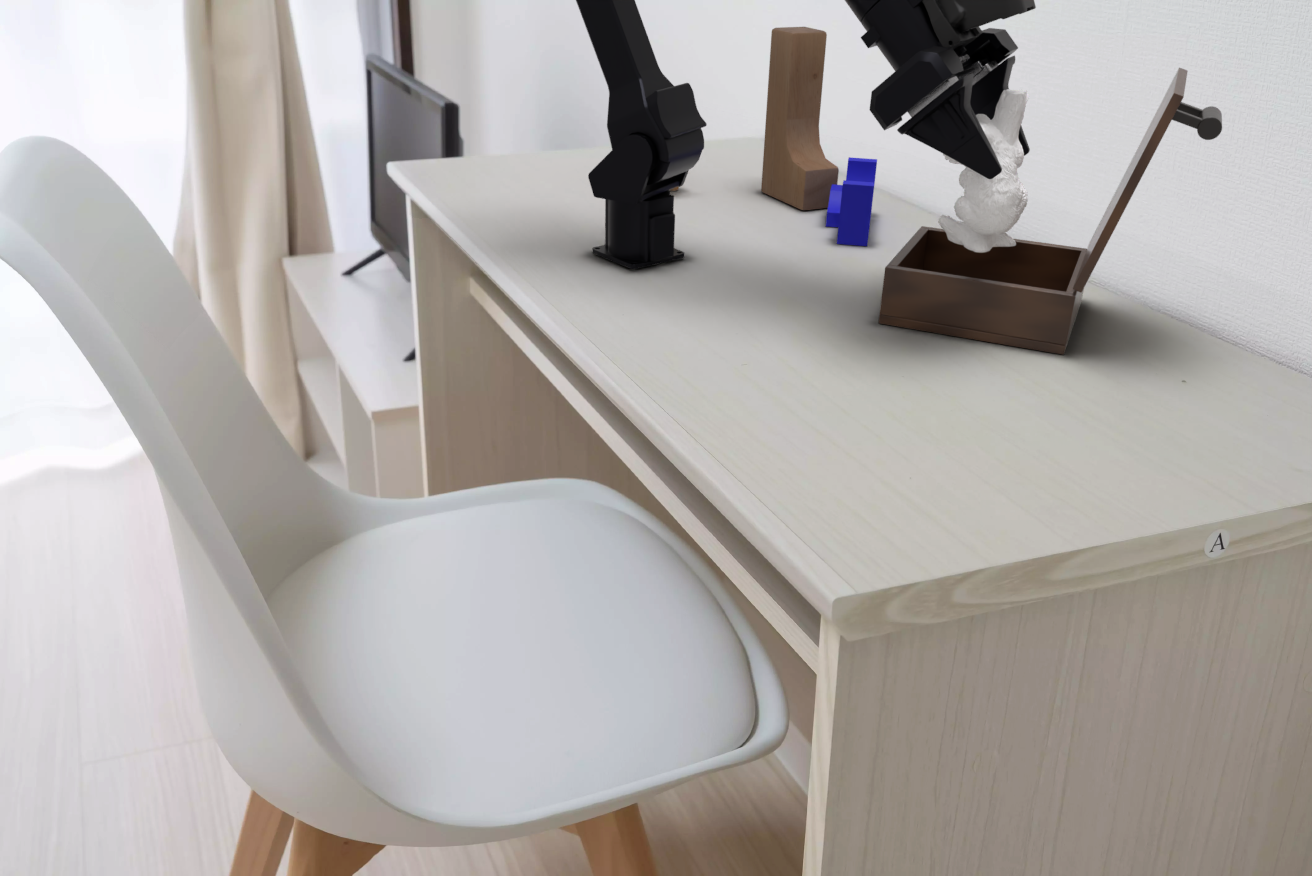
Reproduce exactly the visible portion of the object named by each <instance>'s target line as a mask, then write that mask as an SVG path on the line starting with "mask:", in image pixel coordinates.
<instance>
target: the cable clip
mask: <svg viewBox="0 0 1312 876" xmlns="http://www.w3.org/2000/svg"><path fill="white" fill-rule="evenodd" d="M877 165H878V159H877V158H864V157H848V159H847V165H846V166H847V168H846V176H845V180H843V181H842V184H837V185H834V184H832V186H831V190H830V197H829V204H828V208H827V210H826V217H825V218H826V220H825V227H826V228H827V227H829V228H837V237H836V244H837V245H848V246H859V247H868V242H869V234H870V225H871V219H872V218H871V217H872V210H873V202H874V201H873V200H874V191H875V183H876V175H877Z"/></svg>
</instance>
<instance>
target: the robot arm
mask: <svg viewBox="0 0 1312 876" xmlns="http://www.w3.org/2000/svg"><path fill="white" fill-rule="evenodd" d="M575 2H576V4H577V8H578V10H579V12H580V16H581V18H582V20H583V23H584V26H585V29H586V31H587V34H588V37H589V39H590V42H591V45H592V47H593V50H594V53H595V56H596V59H597V61H598V63H599V66H600V69H601V71H602V74H603V77H604V80H605V83H606V85H607V90H608V106H607V117H606V118H607V119H606V129H607V133H608V138H609V142H610V147H611V150H610V152H609V153H608V154H607V155H606V156H604V158H603V159H602V160H601V161H600V162H599V163H598V164H596V166H594V168H593V169H592V170H590V172H589V173H588V176H587V177H588V181H589V184H590V188H591V192H592V195H593V197H594V198H595V199H596V198H597V199H603V200H605V201H604V202H605V203H604V204H605V205H604V206H605V210H604V211H605V212H604V213H605V214H604V215H605V217H604V244H602V245H599V246H594V247H592V248H591V253H592V254H594V255H596V256H598V257H600V258H602V259H606V260H608V261H611V262H613V263H616V264H618V265H620V266H624V268H628V269H631V270H637V269H641V268H646V267H647V268H648V267H651V266H654V265H659V264H663V263H667V262H672V261H675V260H680V259H684V258H685V254H686V253H685V251H683V250H680V249H677V248H675V232H676V230H675V229H676V214H675V213H674V211H675V210H674V209H675V207H674V206H675V195H673V194H671V191H670V190H671V189H673V188H676V187H679V188H681V187H683V186H684V184H685V182H686V179H687V176H688V174H689V171H690V170H691V169H693V168H694V167H695V166H696V165H697V163H698V162H699V161H700V158H701V155H702V152H703V150H705V137H704V133H703V129H702V128H705V127H707V122H706V121H705V120H704V118H703V117H702V116H701V114H700V112H699V110H698V106H697V103H696V98H695V94H694V93H695V92H694V89H693V88H692V85H691V84H690V82H684V83H680V84H677V85H674V84H673V83H672V82H671V81H670V80H669V79H668V78H667V76H666V75H665V74H664V73H663V71H662V70H661V68H660V66H659V64H658V61H657V58H656V56H655V51H654V50H653V47H652V44H651V40H650V38H649V36H648V33H647V31H646V27H645V24H644V22H643V19H642V17H641V14H640V11H639V8H638V5H637V2H636V0H575ZM844 2H845V3H846V5H847V6H848V8H850V10H851V11H852V13H853V14H854V15H855V17H856V18H857V20H858V21H859V23H860V24H861V25H862V27H863V28H864V29H865V31H866V32H864V34H863V35H861V36H860V39H861V41H862V42H863V44H864V45H865V46H866V47H867V49H871V48H875V47H877V48H878V49H879V51H880V52H881V53H882V55H883V57H884V58H885V59H886V60H887V62H888V63H889V64H890V66H891V67H892V69H893V70H894V72H893V73H891V74H890V75H889V76H888V77H887V78H885V80H883V81H882V82H881V83H880V84H878V86H876V87H875V88H874V89H873V90H872V91H871V95H870V102H869V111H870V113H871V114H872V116H873V117H874V119H875V120H876V121H877V123H878V124H879V126H880V127H881V128H882V129H883V131H886V130H889V129H890V128H893V127H895V126H897V125H898V124H900V123H901V122H902V121H903V116H904V115H906V114H907V113H908V115H909V116H910V117H911V118H909V119H908V120H906V122H904V123H902V124H901V126H899V127H898V128H897V130H896V131H897V132H898V133H899V134H900V135H906V136H908V137H910V138H912V139H914V140H917V142H920V143H922V144H923V145H926V146H928V147H930V148H932V149H934V150H936V151H938V152H939V153H941V154H942V155H943V154H945V155H946V156H949V157H950V158H952V159H954V160H956V161H957V162H959V163H961V164H963V165H962V166H964V167H965V166H966V167H968V168H970V169H972V170H973V171H975V172H977V173H979V174H980V175H982V176H984V177H986V178H988V179H993V178H994V177H995V176H997V175H998V174H1000V173H1001V172H1002V167H1001V165H1000V163H999V161H998V159H997V157H996V155H995V152H994V150H993V148H992V146H991V144H990V143H989V141H988V139H987V137H986V135H985V133H984V131H983V129H982V127H981V125H980V123H979V121H978V119H977V117H976V115H977V114H985V115H987V117H989V118H990V120H992V119H993V117H994V115H995V110H996V106H997V103H998V101H999V99H1000V96H1001V94H1002V92H1003V90H1007V89H1009V90H1010V88H1009V83H1010V79H1011V74H1012V70H1013V67H1014V65H1015V64H1016V55H1015V54H1014V53H1015V52H1016V51H1017V50H1019V47H1018V44H1016V42H1015V41H1014V39H1013V38H1012V37H1011V35H1010V34H1009V32H1008V31H1007V30H1006V28H1005V29H1004V28H995V27H988V28H985V29H981V26H985V25H987V24H990V23H992V22H995V21H997V20H1001V19H1002V20H1006V19H1009V18H1011V17H1012V18H1013V17H1015V16H1017V15H1022V14H1025V13H1027V12H1030V11H1034V10H1035V9H1036V8H1037V6H1036V3H1035V0H844ZM1013 54H1014V55H1013ZM1018 138H1019V141H1020V143H1021V145H1022V148H1023V152H1024V157H1025V156H1027V155H1028V154H1029V153H1030V151H1031V149H1030V145H1029V143H1028V140H1027V137H1026V135H1025V133H1024V128H1023V127H1022V125H1021V126H1020V129H1019V136H1018ZM961 164H960V165H961ZM966 167H965V168H966Z"/></svg>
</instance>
